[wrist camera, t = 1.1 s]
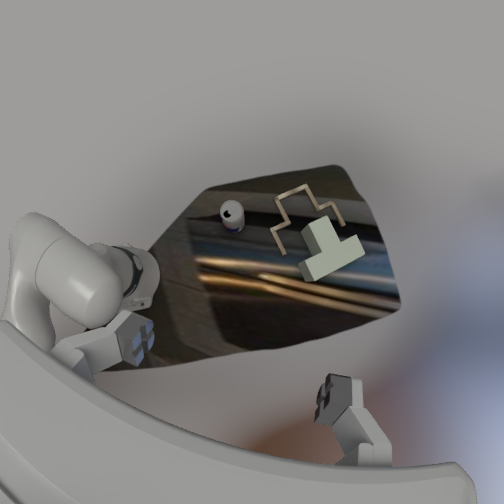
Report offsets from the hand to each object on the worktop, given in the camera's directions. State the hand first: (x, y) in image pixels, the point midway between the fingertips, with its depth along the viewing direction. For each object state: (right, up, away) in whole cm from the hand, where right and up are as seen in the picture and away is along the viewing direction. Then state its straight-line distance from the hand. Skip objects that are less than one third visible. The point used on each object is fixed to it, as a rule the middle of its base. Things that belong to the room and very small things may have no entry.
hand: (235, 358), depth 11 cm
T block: (+18, +5, +59) cm, 62 cm away
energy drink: (-4, +12, +60) cm, 61 cm away
